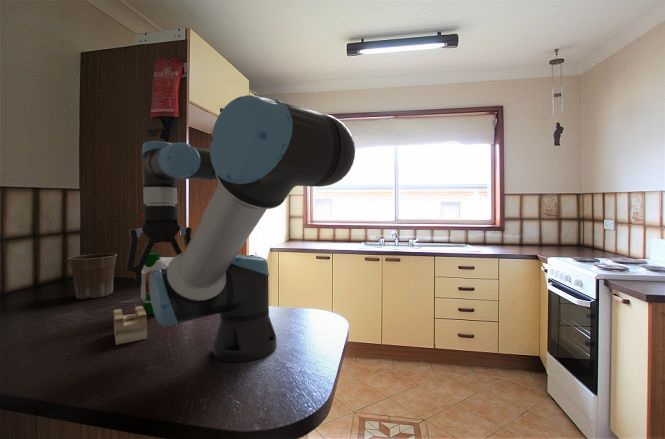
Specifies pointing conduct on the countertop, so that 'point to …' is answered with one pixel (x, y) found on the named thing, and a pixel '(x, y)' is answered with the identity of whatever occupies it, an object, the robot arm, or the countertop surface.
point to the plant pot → (93, 275)
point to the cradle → (130, 326)
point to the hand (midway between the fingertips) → (163, 295)
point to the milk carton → (152, 264)
